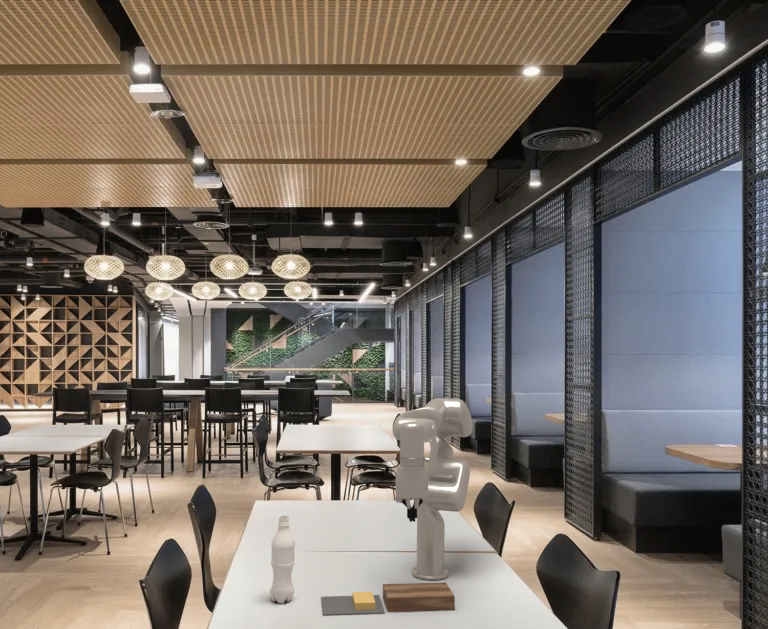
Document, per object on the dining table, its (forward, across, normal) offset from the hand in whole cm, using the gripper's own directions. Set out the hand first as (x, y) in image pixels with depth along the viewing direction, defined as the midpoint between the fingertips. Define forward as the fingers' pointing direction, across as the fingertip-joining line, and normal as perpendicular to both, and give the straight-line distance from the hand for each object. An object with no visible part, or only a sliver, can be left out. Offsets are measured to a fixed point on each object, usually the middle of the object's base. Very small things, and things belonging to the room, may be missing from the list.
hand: (412, 520), depth 207 cm
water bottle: (+23, +40, +2) cm, 46 cm away
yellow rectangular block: (+21, +16, +7) cm, 27 cm away
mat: (+23, +19, +7) cm, 31 cm away
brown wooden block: (+23, -1, +6) cm, 24 cm away
